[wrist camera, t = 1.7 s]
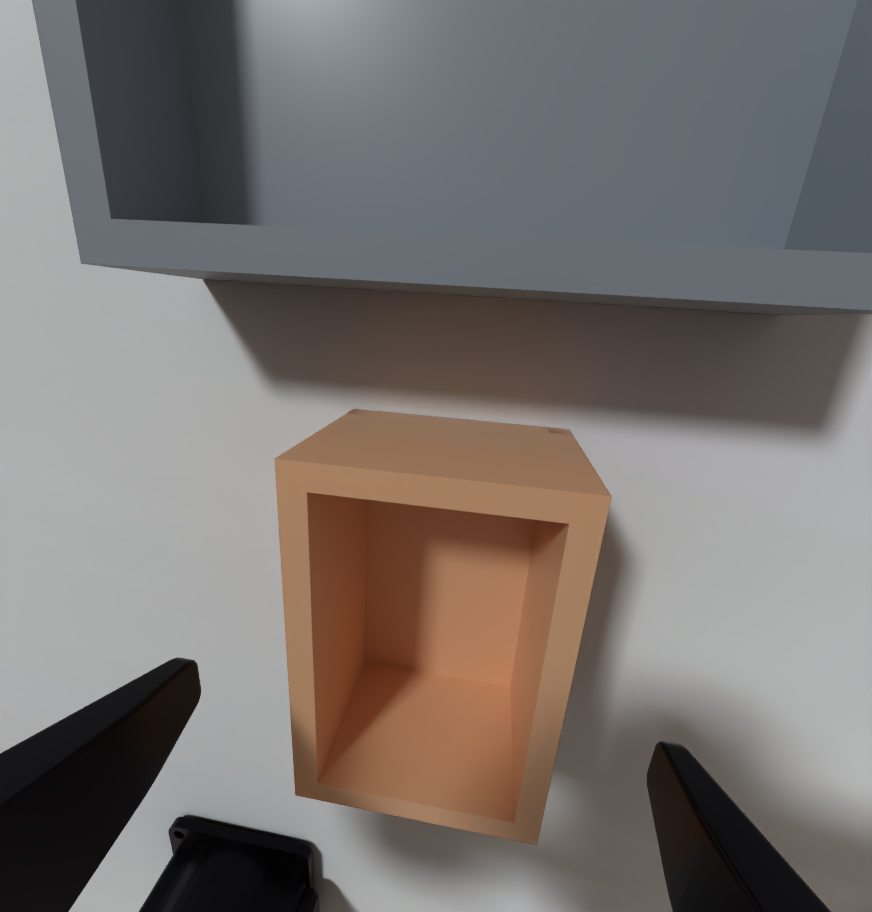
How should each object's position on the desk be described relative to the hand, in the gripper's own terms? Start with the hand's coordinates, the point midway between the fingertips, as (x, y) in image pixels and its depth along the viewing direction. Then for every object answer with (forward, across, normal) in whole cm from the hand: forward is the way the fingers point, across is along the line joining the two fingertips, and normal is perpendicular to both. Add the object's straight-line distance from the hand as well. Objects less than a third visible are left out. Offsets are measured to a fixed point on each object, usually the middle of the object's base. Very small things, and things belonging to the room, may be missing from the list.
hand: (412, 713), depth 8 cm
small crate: (+5, 0, 0) cm, 5 cm away
